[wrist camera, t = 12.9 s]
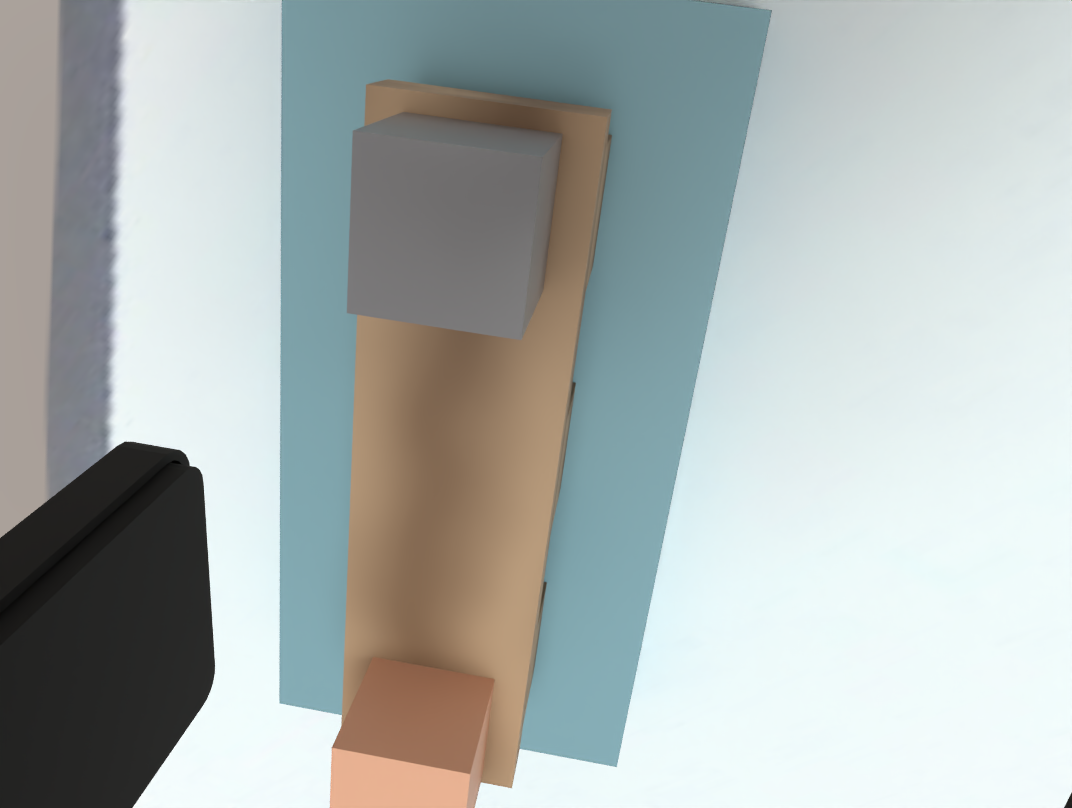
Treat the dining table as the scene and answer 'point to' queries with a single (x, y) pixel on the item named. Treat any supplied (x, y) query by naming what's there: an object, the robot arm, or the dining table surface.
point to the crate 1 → (450, 222)
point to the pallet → (469, 446)
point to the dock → (607, 320)
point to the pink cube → (412, 739)
